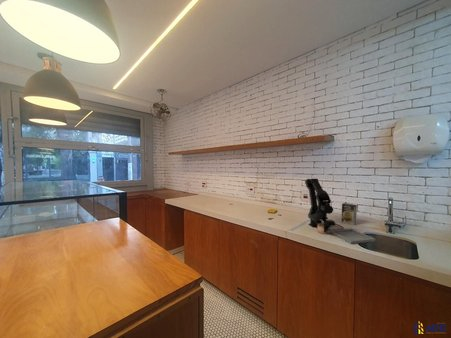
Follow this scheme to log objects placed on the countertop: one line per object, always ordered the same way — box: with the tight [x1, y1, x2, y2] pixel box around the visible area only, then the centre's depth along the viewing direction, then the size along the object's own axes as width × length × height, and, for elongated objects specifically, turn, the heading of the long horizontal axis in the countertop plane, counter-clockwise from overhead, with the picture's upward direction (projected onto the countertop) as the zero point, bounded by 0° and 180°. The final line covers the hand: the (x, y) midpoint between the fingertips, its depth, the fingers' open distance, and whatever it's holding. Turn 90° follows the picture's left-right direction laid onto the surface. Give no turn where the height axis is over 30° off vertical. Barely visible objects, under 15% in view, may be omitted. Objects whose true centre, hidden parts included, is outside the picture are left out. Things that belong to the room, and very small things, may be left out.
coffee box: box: [341, 202, 358, 226], centre depth 153 cm, size 9×6×16 cm
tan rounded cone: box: [316, 222, 328, 235], centre depth 133 cm, size 6×6×6 cm
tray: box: [329, 228, 376, 245], centre depth 125 cm, size 18×18×2 cm
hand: (322, 231), depth 133 cm, fingers closed on tan rounded cone, 6 cm apart
